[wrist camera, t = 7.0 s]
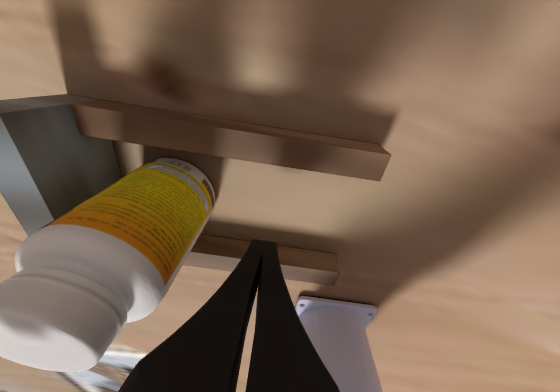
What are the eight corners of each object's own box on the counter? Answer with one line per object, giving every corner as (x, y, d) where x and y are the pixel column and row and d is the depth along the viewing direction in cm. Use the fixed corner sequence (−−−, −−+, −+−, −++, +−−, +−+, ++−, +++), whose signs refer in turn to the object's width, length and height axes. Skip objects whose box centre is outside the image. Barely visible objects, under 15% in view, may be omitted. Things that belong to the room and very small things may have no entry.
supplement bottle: (148, 140, 14) (-120, 263, 5) (228, 176, 15) (130, 334, 6) (137, 203, 16) (-49, 358, 7) (205, 230, 17) (115, 394, 8)
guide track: (330, 266, 19) (341, 324, 14) (115, 235, 18) (60, 286, 14) (378, 144, 13) (421, 179, 9) (66, 94, 12) (-55, 105, 8)
